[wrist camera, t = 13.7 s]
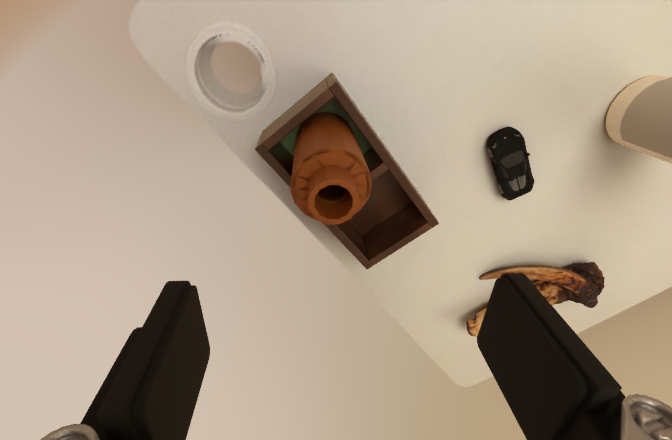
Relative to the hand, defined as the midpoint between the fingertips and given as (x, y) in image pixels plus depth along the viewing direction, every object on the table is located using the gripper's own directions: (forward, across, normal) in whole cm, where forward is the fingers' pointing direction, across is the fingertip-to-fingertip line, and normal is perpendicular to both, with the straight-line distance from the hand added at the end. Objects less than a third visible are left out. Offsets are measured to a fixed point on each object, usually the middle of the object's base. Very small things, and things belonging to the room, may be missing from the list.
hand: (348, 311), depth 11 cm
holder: (+26, -3, +5) cm, 26 cm away
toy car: (+26, -20, +5) cm, 33 cm away
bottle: (+25, 0, +2) cm, 25 cm away
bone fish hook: (+26, -26, +21) cm, 43 cm away
